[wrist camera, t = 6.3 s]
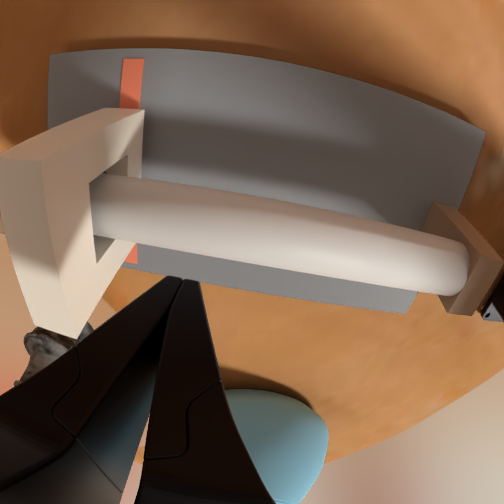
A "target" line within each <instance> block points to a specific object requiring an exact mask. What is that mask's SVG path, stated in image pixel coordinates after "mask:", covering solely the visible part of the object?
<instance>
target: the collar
mask: <svg viewBox="0 0 504 504" xmlns="http://www.w3.org/2000/svg"><path fill="white" fill-rule="evenodd" d="M144 112H145V110H143V109H126V108H103V109H100V110H97V111H94V112H92V113H89V114H86V115H83V116H81V117H78V118H76V119H73V120H71V121H68V122H66V123H63V124H61V125H58V126H56V127H54V128H51V129H49V130H47V131H45V132H42V133H40V134H38V135H36V136H34V137H32V138H29V139H27V140H25V141H23V142H21V143H19V144H17V145H15V146H13V147H11V148H9V149H7V150H5V151H3V152H2V153H0V213H1V217H2V222H3V226H4V231H5V235H6V239H7V243H8V247H9V251H10V254H11V258H12V261H13V265H14V268H15V272H16V275H17V278H18V281H19V284H20V287H21V290H22V293H23V296H24V299H25V302H26V304H27V307H28V310H29V313H30V315H31V318H32V320H33V323H34V325H36V326H39V327H42V328H44V329H47V330H50V331H53V332H56V333H59V334H62V335H65V336H68V337H71V338H74V339H77V338H78V336H79V335H80V333H81V331H82V329H83V328H84V326H85V324H86V322H87V321H88V319H89V317H90V315H91V314H92V312H93V310H94V308H95V307H96V305H97V303H98V302H99V300H100V298H101V297H102V295H103V294H104V292H105V290H106V289H107V287H108V285H109V284H110V282H111V281H112V279H113V277H114V276H115V274H116V273H117V271H118V270H119V268H120V266H121V265H122V263H123V262H124V260H125V259H126V257H127V256H128V254H129V253H130V251H131V250H132V248H133V247H134V245H135V244H136V243H134V242H129V241H123V240H118V239H113V238H107V237H102V236H96V237H93V228H92V217H91V205H90V191H89V183H90V182H91V181H92V180H94V179H95V178H96V177H98V176H99V175H100V174H101V173H103V172H104V171H105V172H107V173H108V174H112V175H121V176H129V177H137V178H141V165H142V142H143V125H144Z"/></svg>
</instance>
